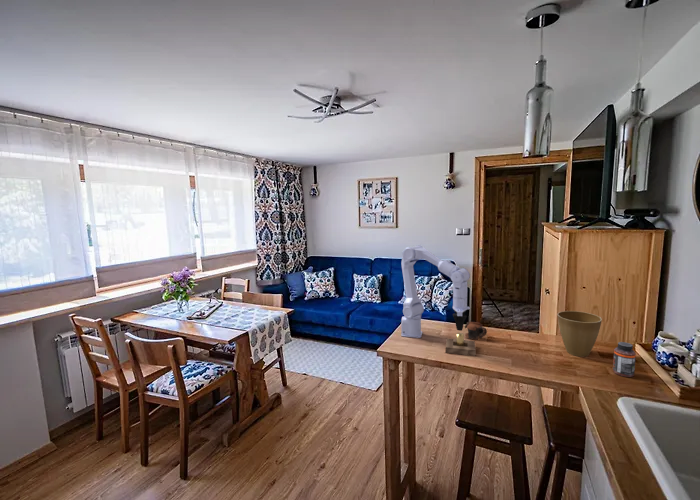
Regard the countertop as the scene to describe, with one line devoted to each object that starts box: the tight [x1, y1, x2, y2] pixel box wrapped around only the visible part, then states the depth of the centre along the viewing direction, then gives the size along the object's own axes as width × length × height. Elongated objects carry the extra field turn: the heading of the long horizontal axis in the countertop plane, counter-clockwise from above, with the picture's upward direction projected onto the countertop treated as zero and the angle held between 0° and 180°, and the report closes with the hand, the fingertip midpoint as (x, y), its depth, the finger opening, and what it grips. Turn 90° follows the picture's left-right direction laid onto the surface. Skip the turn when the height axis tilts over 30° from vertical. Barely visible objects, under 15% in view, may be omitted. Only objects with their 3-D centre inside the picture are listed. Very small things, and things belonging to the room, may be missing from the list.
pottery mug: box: [464, 321, 488, 341], centre depth 154 cm, size 12×10×8 cm
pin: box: [456, 332, 465, 346], centre depth 140 cm, size 3×3×7 cm
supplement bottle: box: [612, 341, 637, 378], centre depth 116 cm, size 6×6×11 cm
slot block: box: [445, 337, 477, 357], centre depth 140 cm, size 12×10×2 cm
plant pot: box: [556, 310, 603, 358], centre depth 133 cm, size 15×15×16 cm
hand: (459, 327), depth 140 cm, fingers open, 7 cm apart
